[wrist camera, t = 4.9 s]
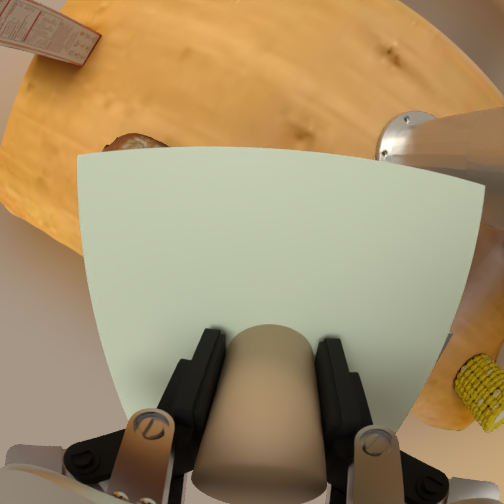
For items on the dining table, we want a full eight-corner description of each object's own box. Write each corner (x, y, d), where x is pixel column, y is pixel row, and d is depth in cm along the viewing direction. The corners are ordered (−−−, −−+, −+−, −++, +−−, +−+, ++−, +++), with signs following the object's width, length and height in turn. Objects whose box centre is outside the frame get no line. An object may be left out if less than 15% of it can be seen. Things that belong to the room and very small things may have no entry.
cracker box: (36, 55, 26) (-54, 36, 6) (54, 24, 24) (-31, -6, 5) (82, 70, 28) (-30, 39, 8) (103, 34, 26) (3, -16, 6)
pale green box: (390, 170, 17) (599, 221, 2) (354, 353, 22) (398, 525, 7) (172, 154, 18) (-48, 172, 3) (179, 339, 23) (98, 499, 8)
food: (460, 350, 38) (489, 348, 38) (439, 404, 39) (470, 397, 39) (512, 384, 23) (537, 375, 23) (479, 445, 24) (509, 431, 24)
